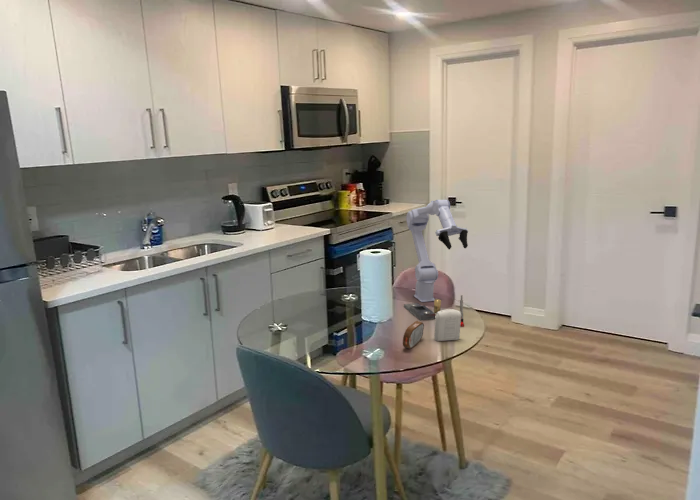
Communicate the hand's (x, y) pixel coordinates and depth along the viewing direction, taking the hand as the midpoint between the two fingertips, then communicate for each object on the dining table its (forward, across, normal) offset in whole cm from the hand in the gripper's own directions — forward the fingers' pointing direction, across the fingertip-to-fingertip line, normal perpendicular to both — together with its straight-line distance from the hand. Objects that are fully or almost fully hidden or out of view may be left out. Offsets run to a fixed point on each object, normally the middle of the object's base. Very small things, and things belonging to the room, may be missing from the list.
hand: (458, 247), depth 226 cm
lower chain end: (+10, -11, +34) cm, 37 cm away
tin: (+36, -28, +12) cm, 47 cm away
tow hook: (+25, -3, +22) cm, 33 cm away
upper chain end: (+15, -11, +30) cm, 35 cm away
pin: (+14, -3, +31) cm, 34 cm away
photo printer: (+35, -13, +13) cm, 39 cm away
